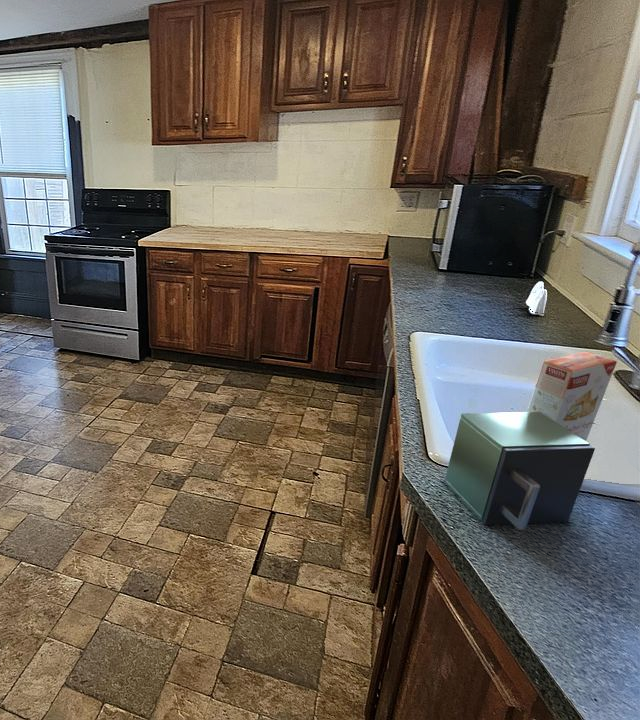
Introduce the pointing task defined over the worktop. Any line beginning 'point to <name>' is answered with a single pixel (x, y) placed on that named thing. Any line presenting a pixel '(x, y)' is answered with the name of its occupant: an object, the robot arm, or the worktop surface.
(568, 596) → the worktop surface
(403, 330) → the worktop surface
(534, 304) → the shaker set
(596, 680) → the worktop surface
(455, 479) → the dark green box
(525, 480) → the door
